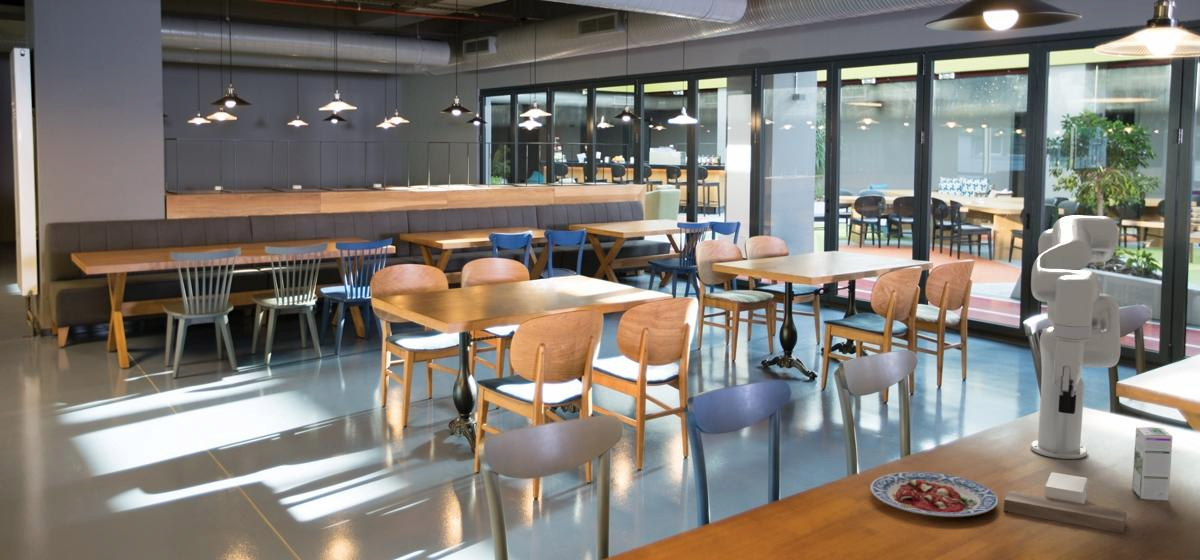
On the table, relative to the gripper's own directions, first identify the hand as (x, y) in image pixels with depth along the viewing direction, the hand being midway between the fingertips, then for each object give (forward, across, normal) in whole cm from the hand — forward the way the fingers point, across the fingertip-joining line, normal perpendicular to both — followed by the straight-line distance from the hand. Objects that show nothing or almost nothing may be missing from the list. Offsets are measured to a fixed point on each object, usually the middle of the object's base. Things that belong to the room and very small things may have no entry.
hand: (1066, 412), depth 214 cm
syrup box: (+17, -1, +17) cm, 24 cm away
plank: (+16, +22, +3) cm, 27 cm away
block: (+16, +13, +2) cm, 21 cm away
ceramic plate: (+16, +27, -22) cm, 38 cm away
